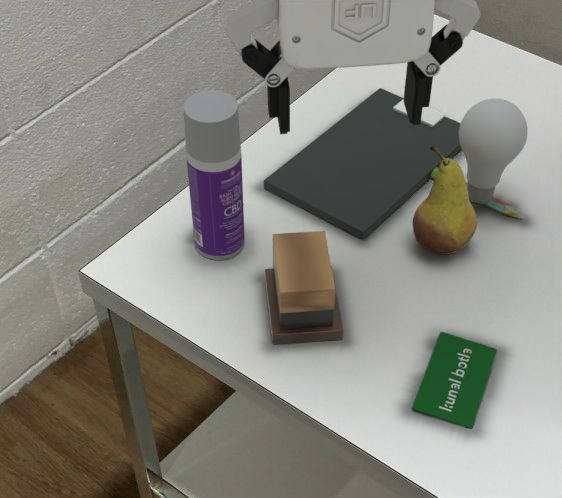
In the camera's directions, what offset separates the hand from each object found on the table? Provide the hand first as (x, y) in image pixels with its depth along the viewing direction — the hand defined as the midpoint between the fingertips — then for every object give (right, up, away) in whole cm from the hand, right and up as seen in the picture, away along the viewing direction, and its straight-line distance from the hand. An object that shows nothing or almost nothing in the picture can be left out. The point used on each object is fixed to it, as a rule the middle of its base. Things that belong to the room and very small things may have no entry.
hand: (347, 118), depth 70 cm
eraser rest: (-3, -13, +13) cm, 19 cm away
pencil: (+11, 0, +24) cm, 27 cm away
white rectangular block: (+10, +8, +29) cm, 32 cm away
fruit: (+10, -7, +18) cm, 22 cm away
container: (-11, -7, +18) cm, 22 cm away
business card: (+12, -20, +7) cm, 25 cm away
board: (+4, +3, +26) cm, 26 cm away
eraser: (-3, -12, +12) cm, 18 cm away
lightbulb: (+14, -2, +22) cm, 26 cm away
